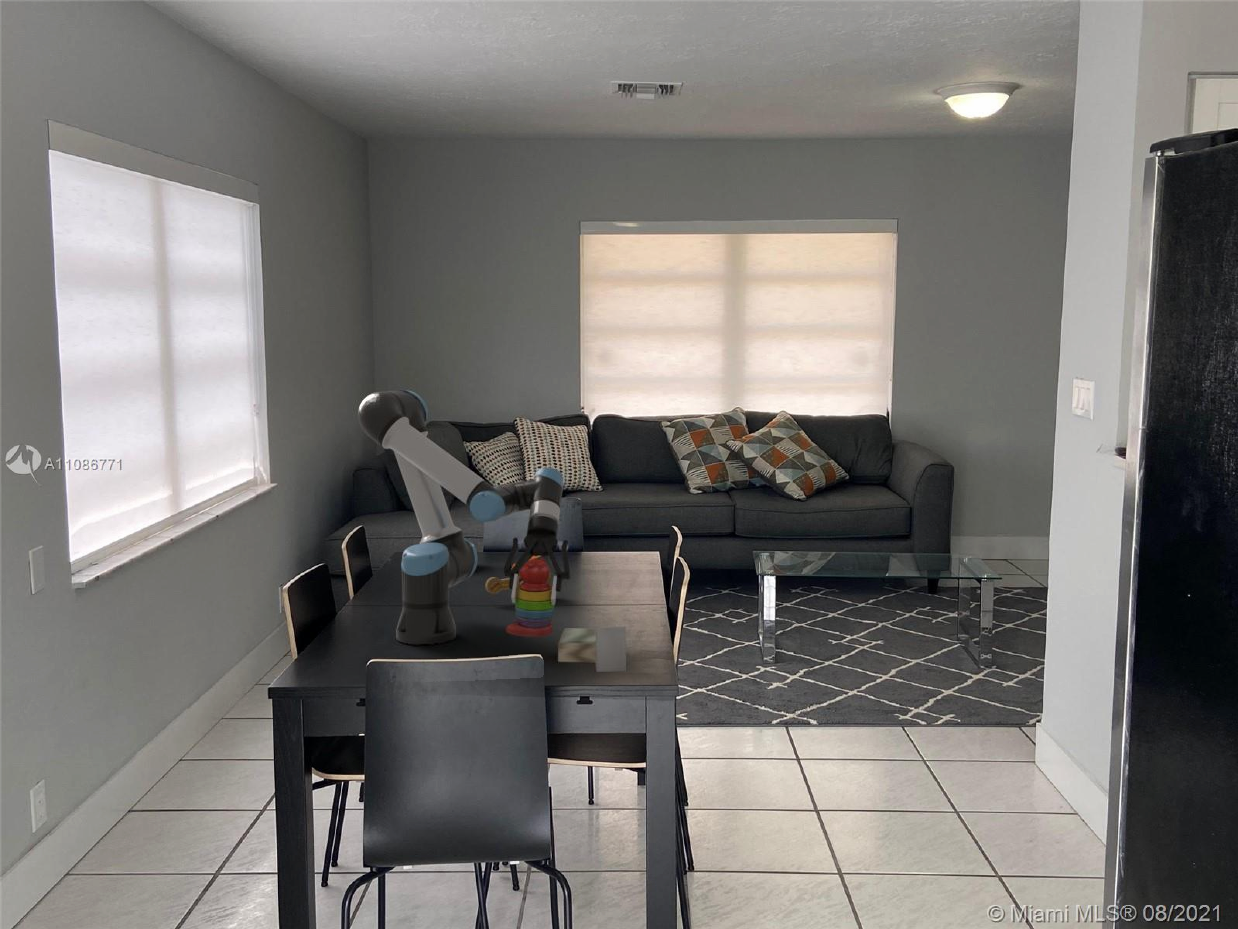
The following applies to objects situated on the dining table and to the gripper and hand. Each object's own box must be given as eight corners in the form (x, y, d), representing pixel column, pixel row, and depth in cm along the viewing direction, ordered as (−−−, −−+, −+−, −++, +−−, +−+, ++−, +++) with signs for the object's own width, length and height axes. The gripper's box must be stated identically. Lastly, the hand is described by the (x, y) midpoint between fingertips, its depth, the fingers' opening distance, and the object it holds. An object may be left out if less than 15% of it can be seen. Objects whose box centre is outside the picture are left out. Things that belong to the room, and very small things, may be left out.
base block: (558, 661, 258) (558, 641, 257) (563, 647, 270) (563, 627, 269) (608, 663, 257) (608, 642, 256) (611, 648, 269) (612, 628, 268)
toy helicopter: (557, 600, 317) (557, 554, 315) (492, 609, 306) (492, 562, 304) (543, 595, 324) (543, 549, 322) (480, 603, 313) (480, 556, 311)
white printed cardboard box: (626, 671, 251) (626, 629, 250) (596, 672, 250) (597, 629, 249) (624, 666, 255) (624, 624, 253) (595, 667, 254) (595, 625, 253)
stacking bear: (531, 623, 270) (533, 552, 267) (563, 631, 264) (565, 559, 261) (502, 632, 261) (503, 559, 259) (534, 640, 255) (536, 566, 253)
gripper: (586, 533, 274) (578, 611, 260) (502, 529, 275) (490, 607, 262) (585, 516, 268) (577, 595, 254) (499, 512, 269) (486, 590, 256)
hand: (533, 601), depth 258 cm, fingers closed on stacking bear, 9 cm apart
